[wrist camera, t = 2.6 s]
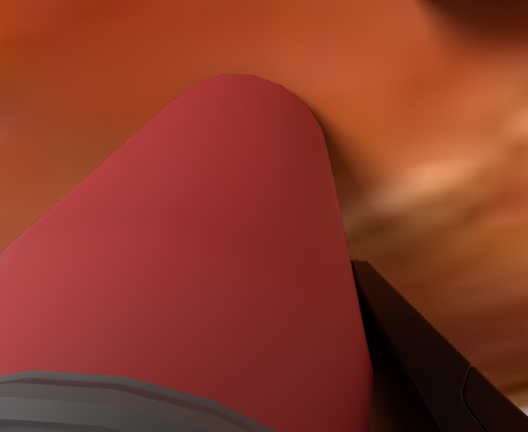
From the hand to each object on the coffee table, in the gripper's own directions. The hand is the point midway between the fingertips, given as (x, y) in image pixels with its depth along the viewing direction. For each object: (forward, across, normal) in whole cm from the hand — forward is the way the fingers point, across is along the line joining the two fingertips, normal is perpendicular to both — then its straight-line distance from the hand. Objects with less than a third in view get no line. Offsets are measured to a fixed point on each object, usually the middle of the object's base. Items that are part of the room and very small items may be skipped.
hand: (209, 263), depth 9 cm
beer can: (+7, 0, 0) cm, 7 cm away
